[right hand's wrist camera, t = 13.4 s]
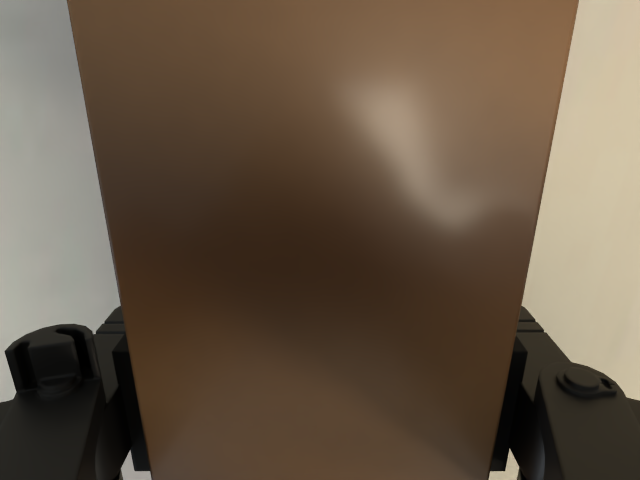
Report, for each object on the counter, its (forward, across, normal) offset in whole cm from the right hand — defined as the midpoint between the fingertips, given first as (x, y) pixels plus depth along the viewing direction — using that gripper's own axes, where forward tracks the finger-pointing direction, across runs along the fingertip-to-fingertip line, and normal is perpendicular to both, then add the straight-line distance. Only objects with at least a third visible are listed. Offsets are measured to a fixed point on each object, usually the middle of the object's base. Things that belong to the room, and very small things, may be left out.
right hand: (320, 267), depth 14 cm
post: (+1, 0, -27) cm, 27 cm away
